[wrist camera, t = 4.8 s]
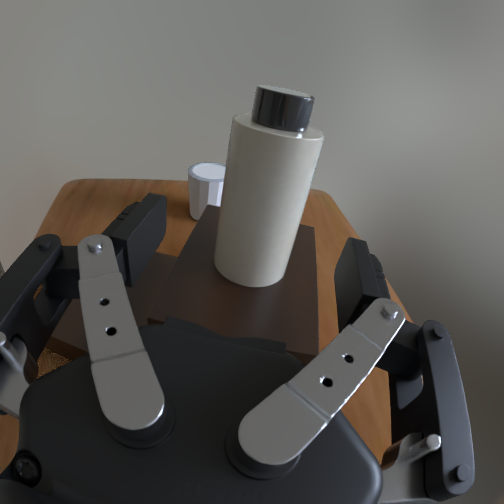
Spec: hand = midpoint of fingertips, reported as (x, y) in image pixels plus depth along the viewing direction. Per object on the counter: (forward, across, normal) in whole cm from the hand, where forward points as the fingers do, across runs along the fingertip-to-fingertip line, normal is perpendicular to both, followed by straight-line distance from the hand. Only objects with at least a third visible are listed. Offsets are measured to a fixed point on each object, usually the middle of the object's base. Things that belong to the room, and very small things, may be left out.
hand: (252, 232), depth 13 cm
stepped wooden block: (+6, +6, +16) cm, 19 cm away
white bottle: (+6, 0, +6) cm, 9 cm away
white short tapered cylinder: (+28, +8, +17) cm, 34 cm away
